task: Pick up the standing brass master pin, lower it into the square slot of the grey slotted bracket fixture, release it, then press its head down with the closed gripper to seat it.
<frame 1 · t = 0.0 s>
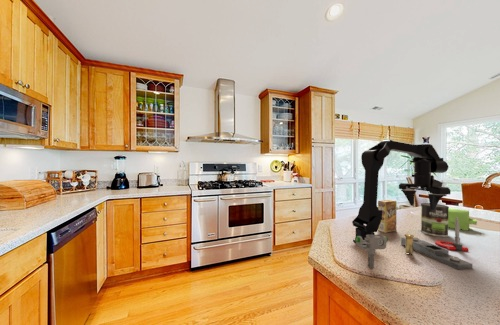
hand: (421, 207, 91), 15 cm above the countertop, fingers open, 9 cm apart
mechanical component: (370, 267, 67), on the countertop
grey slotted bracket fixture: (433, 255, 76), on the countertop
coffee can: (434, 233, 102), on the countertop
tow hook: (449, 247, 85), on the countertop
master pin: (409, 253, 77), on the countertop
gearbox: (452, 227, 113), on the countertop
candy box: (387, 231, 104), on the countertop
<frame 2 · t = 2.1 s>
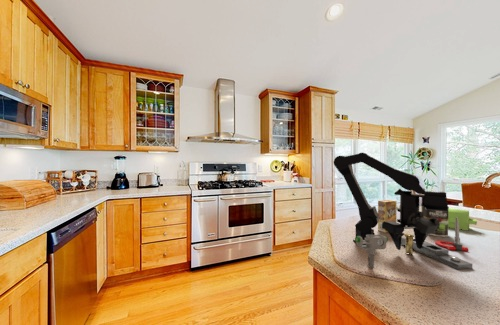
hand: (408, 248, 77), 2 cm above the countertop, fingers open, 9 cm apart
nothing on the countertop moved.
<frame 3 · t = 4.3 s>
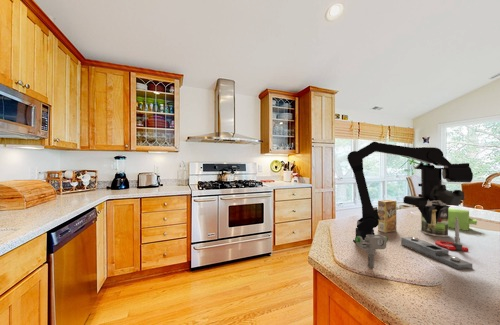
hand: (431, 223, 76), 12 cm above the countertop, fingers closed on master pin, 2 cm apart
master pin: (431, 227, 76), point 10 cm above the countertop, touching gripper
everything else where it was.
when the fingers open (4 cm above the countertop, at t = 6.0 s): master pin drops 2 cm, resting in grey slotted bracket fixture.
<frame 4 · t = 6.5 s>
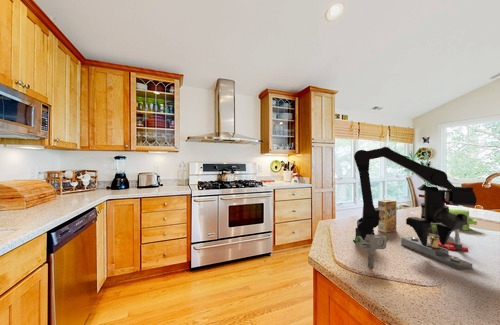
hand: (433, 245, 76), 4 cm above the countertop, fingers open, 8 cm apart
master pin: (433, 255, 76), resting in grey slotted bracket fixture
everything else where it was.
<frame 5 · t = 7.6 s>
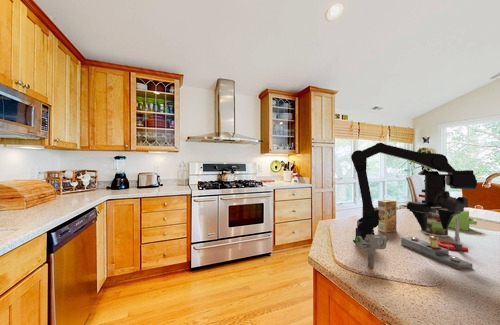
hand: (434, 229, 76), 10 cm above the countertop, fingers open, 9 cm apart
nothing on the countertop moved.
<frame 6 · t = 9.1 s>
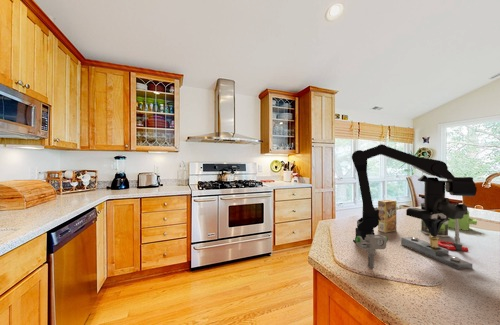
hand: (433, 236, 76), 7 cm above the countertop, fingers closed
nothing on the countertop moved.
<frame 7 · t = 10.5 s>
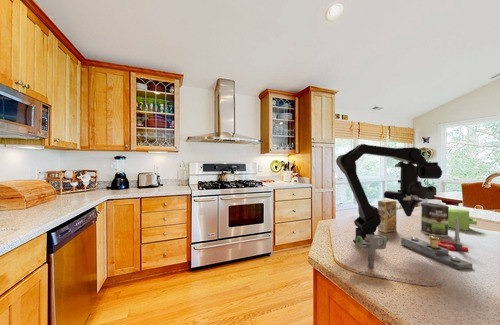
hand: (408, 216, 84), 12 cm above the countertop, fingers closed
nothing on the countertop moved.
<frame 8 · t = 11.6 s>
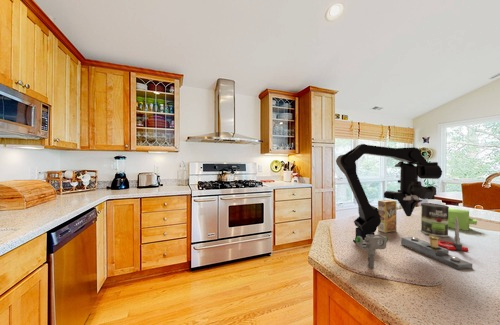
hand: (408, 216, 84), 13 cm above the countertop, fingers closed
nothing on the countertop moved.
at the end: master pin 0.1 cm off-centre on the grey slotted bracket fixture, point 0.0 cm above the grey slotted bracket fixture's base; master pin tilted 0°; the gripper is holding nothing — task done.
